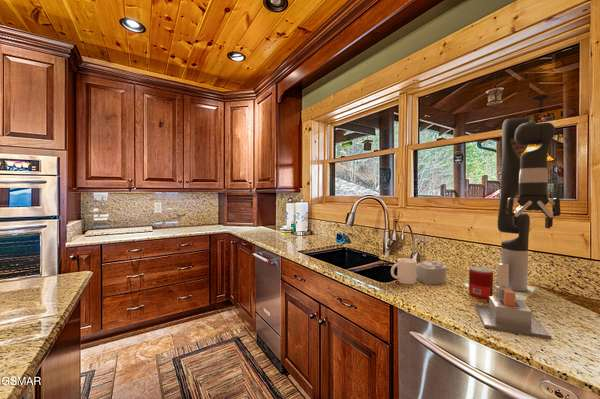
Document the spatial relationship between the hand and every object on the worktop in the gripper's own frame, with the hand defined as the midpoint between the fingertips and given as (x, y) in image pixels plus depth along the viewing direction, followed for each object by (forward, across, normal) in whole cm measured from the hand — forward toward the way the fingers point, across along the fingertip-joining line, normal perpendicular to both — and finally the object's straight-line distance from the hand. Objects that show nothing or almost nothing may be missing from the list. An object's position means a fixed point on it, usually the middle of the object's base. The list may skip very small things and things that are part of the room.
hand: (531, 227), depth 93 cm
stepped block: (+29, +9, +12) cm, 33 cm away
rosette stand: (+30, +9, +11) cm, 33 cm away
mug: (+30, +43, -14) cm, 54 cm away
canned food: (+30, +13, -10) cm, 34 cm away
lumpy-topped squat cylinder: (+30, +30, -22) cm, 48 cm away
